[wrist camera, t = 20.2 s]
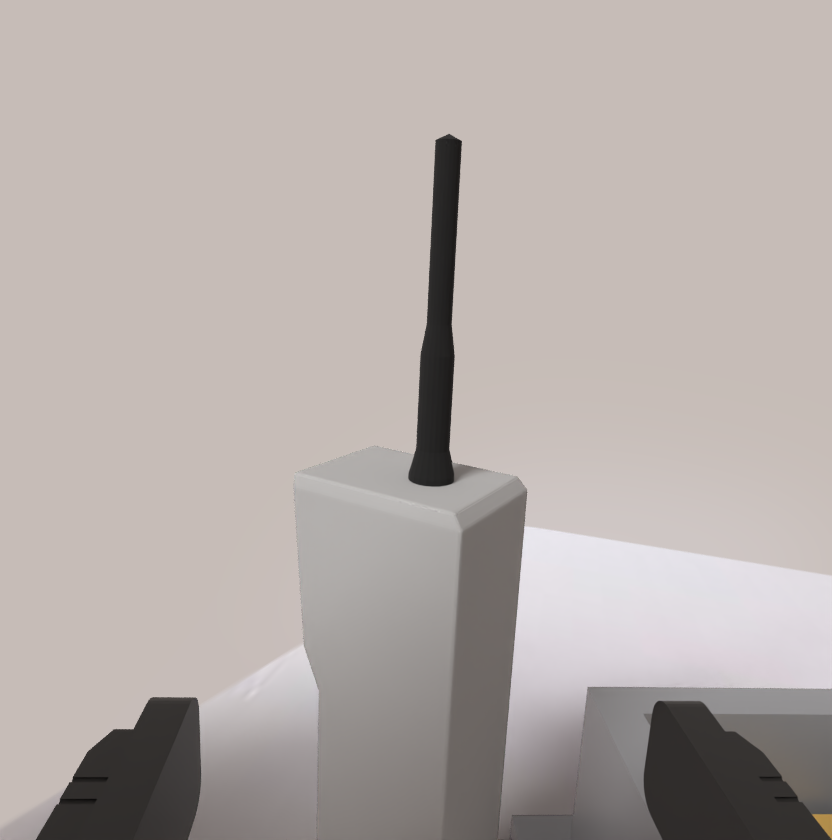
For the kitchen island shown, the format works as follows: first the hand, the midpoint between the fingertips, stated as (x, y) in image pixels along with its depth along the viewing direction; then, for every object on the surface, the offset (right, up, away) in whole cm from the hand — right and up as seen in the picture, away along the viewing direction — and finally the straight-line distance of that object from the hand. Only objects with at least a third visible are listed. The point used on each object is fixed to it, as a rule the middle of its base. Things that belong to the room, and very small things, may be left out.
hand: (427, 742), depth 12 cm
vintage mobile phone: (-1, -12, +10) cm, 16 cm away
